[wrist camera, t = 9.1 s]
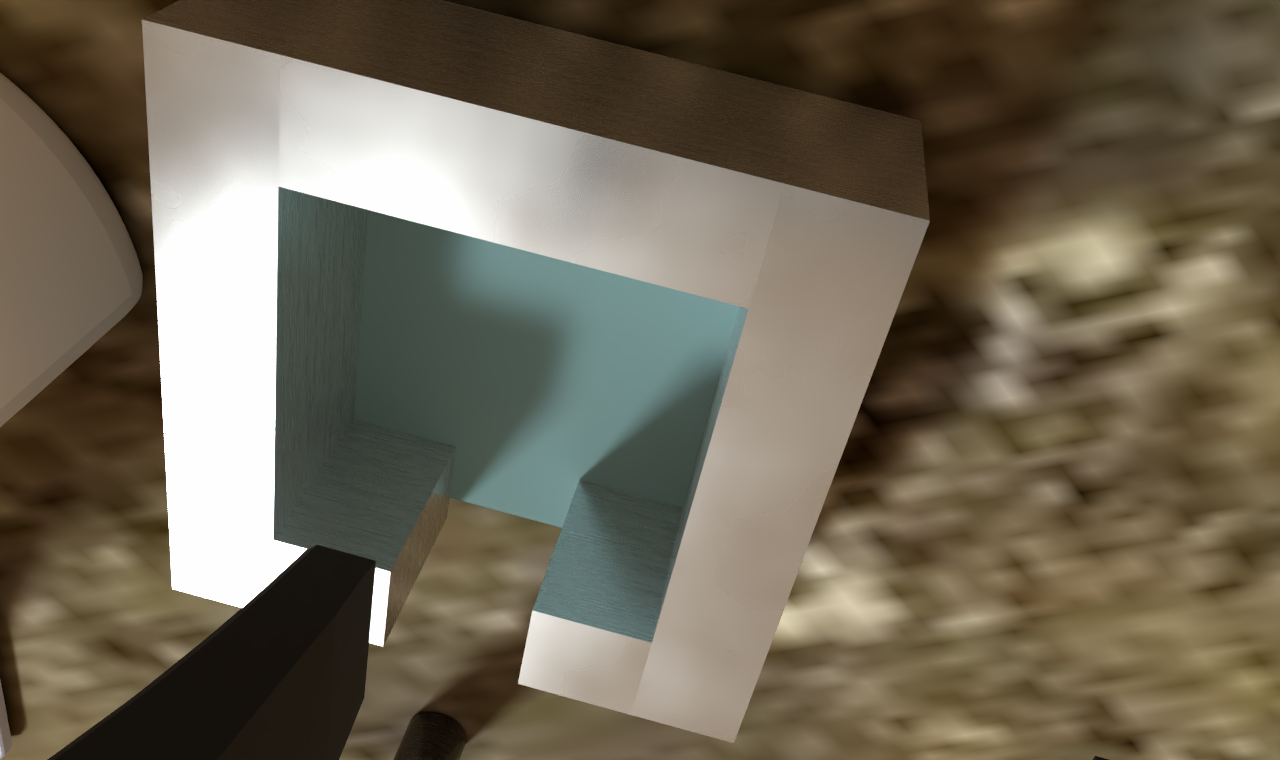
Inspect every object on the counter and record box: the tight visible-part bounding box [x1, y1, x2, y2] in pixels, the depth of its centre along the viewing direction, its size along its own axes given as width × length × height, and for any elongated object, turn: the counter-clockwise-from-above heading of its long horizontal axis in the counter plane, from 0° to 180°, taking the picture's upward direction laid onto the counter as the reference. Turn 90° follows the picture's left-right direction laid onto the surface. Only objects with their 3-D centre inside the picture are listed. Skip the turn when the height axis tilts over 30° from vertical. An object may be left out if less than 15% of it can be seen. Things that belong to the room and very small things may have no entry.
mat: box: [354, 210, 740, 528], centre depth 20 cm, size 10×9×1 cm
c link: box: [142, 0, 930, 743], centre depth 18 cm, size 10×10×4 cm
